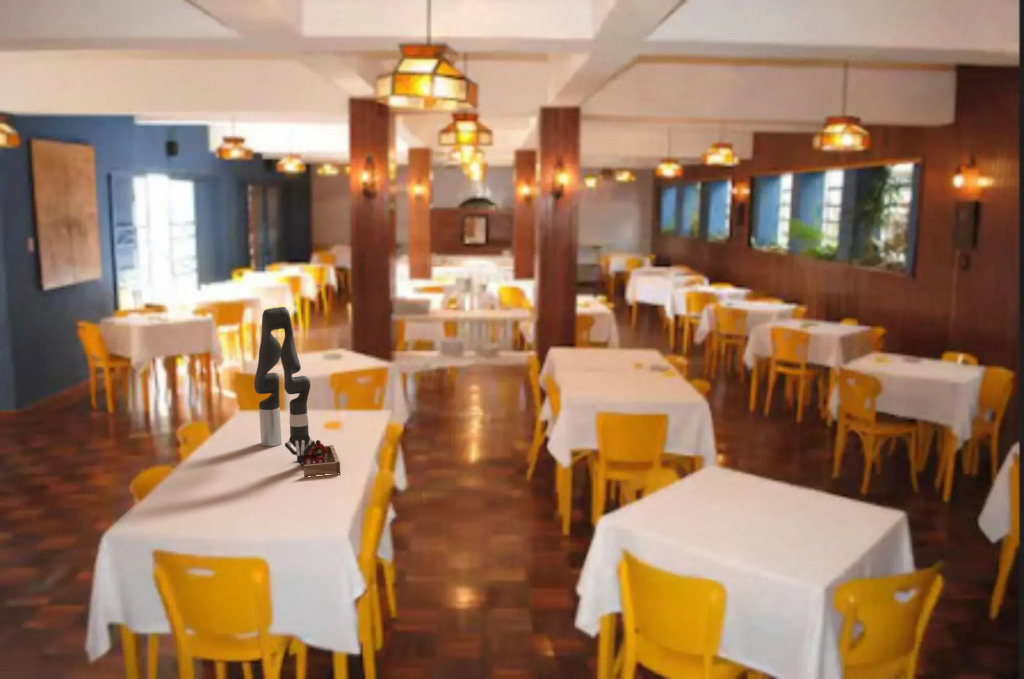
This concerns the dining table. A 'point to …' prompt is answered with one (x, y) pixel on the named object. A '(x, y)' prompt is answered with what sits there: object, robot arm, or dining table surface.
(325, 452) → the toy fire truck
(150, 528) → the dining table surface
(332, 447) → the open wooden box
